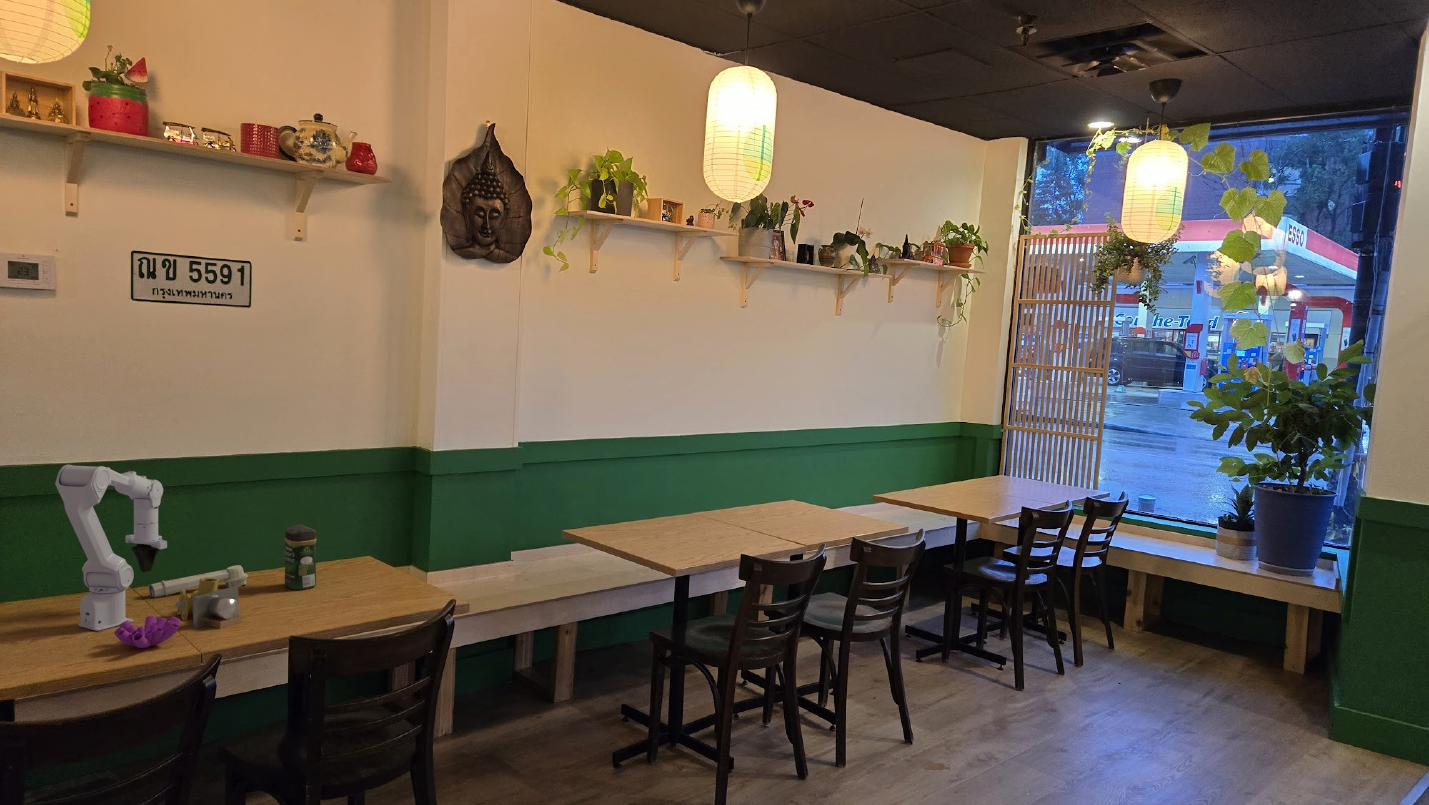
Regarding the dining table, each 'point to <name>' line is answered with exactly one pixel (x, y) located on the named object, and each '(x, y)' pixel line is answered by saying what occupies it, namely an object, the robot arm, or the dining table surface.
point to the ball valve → (187, 601)
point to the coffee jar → (300, 557)
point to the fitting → (217, 608)
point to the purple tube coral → (147, 631)
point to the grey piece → (230, 576)
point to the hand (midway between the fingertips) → (146, 571)
